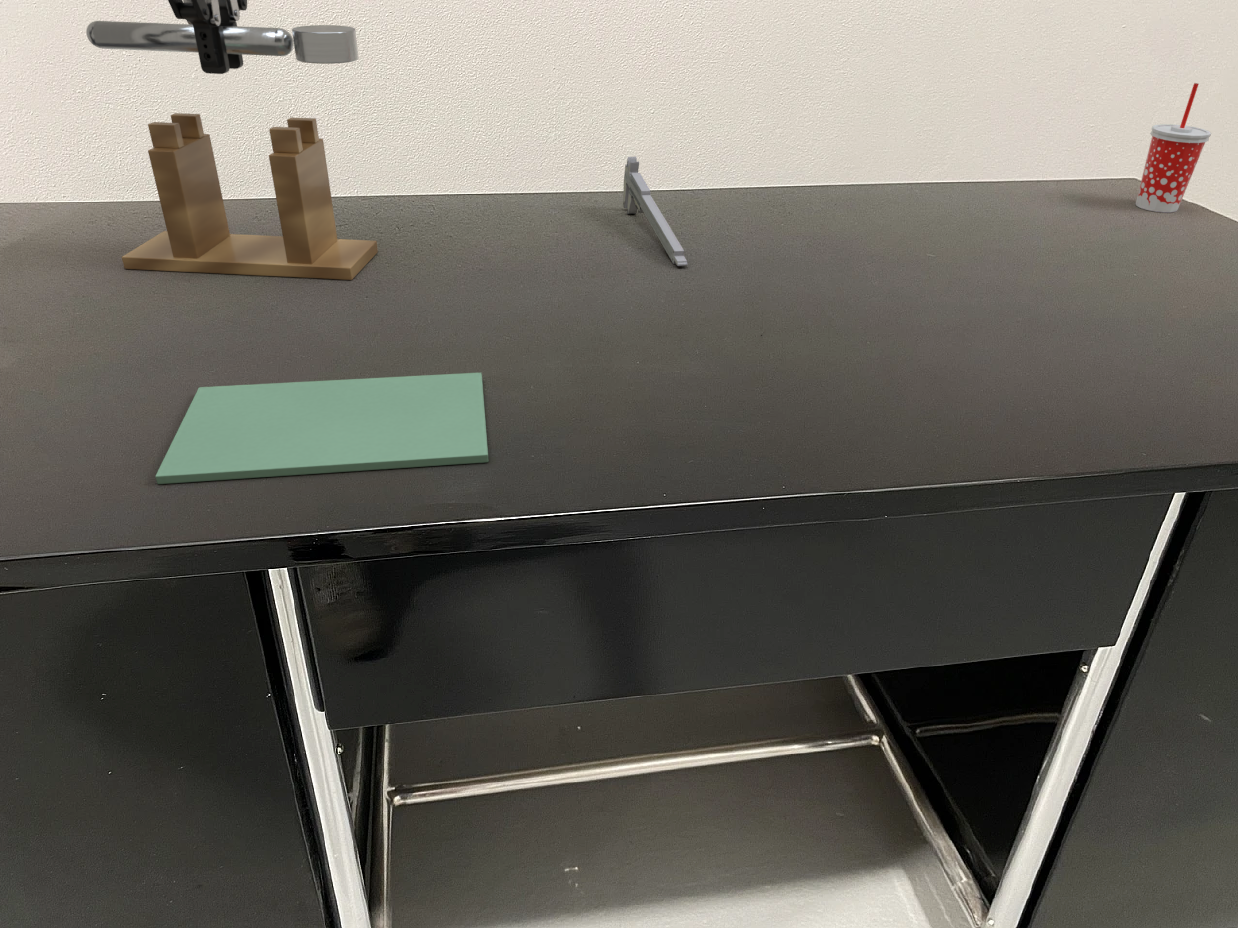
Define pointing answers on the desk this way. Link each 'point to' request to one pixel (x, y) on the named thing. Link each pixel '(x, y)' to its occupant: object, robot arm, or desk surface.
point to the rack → (202, 220)
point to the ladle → (232, 40)
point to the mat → (328, 428)
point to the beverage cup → (1170, 163)
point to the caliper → (649, 210)
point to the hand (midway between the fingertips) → (223, 69)
